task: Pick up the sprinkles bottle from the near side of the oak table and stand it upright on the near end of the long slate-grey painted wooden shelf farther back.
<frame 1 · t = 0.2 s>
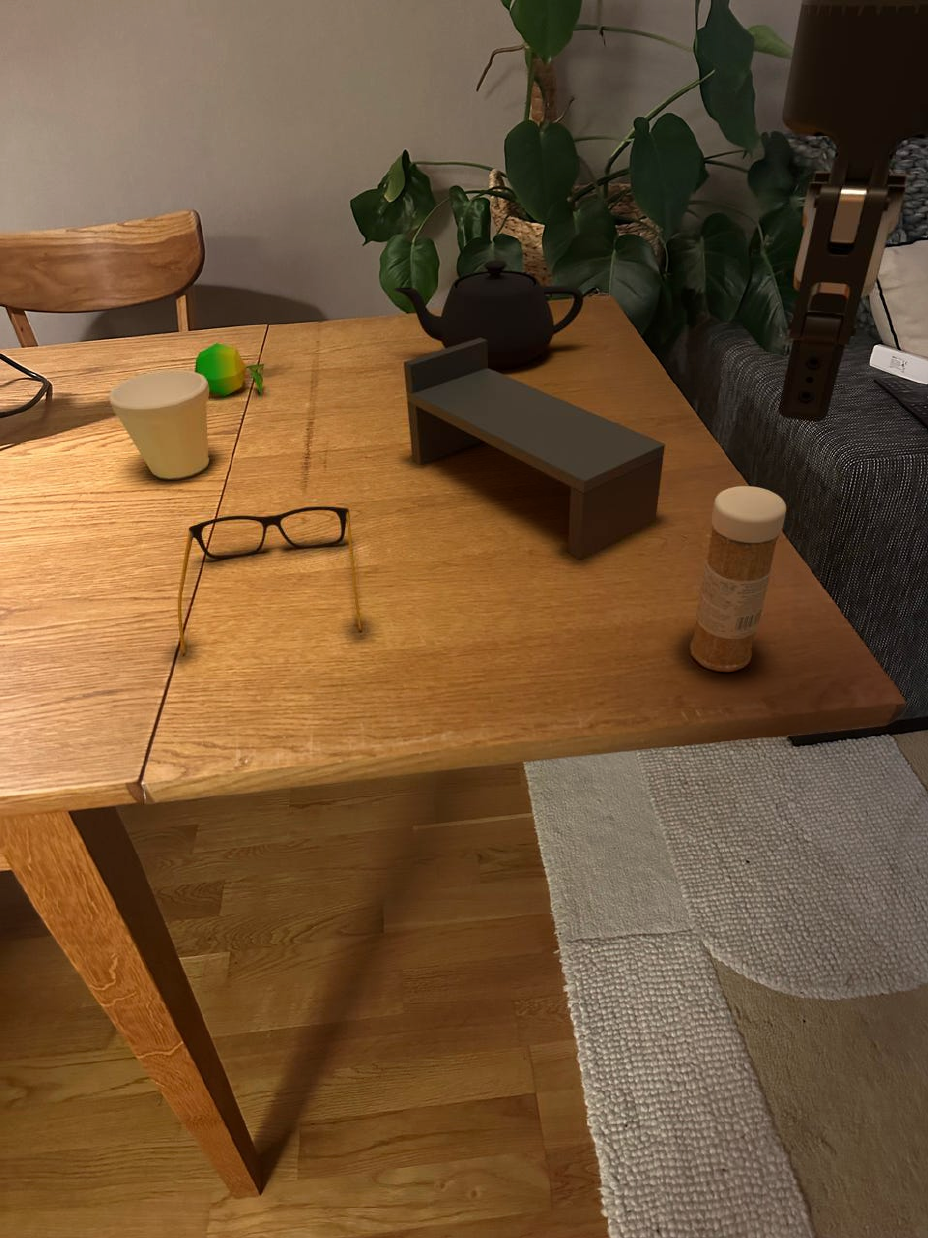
hand: (810, 383, 42), 24 cm above the table, tool pointing down, fingers open, 8 cm apart
eyeglasses: (275, 593, 70), on the table
sprinkles bottle: (718, 657, 61), on the table
shelf: (518, 485, 83), on the table
cup: (181, 469, 89), on the table
apple: (234, 392, 106), on the table
teapot: (490, 357, 112), on the table
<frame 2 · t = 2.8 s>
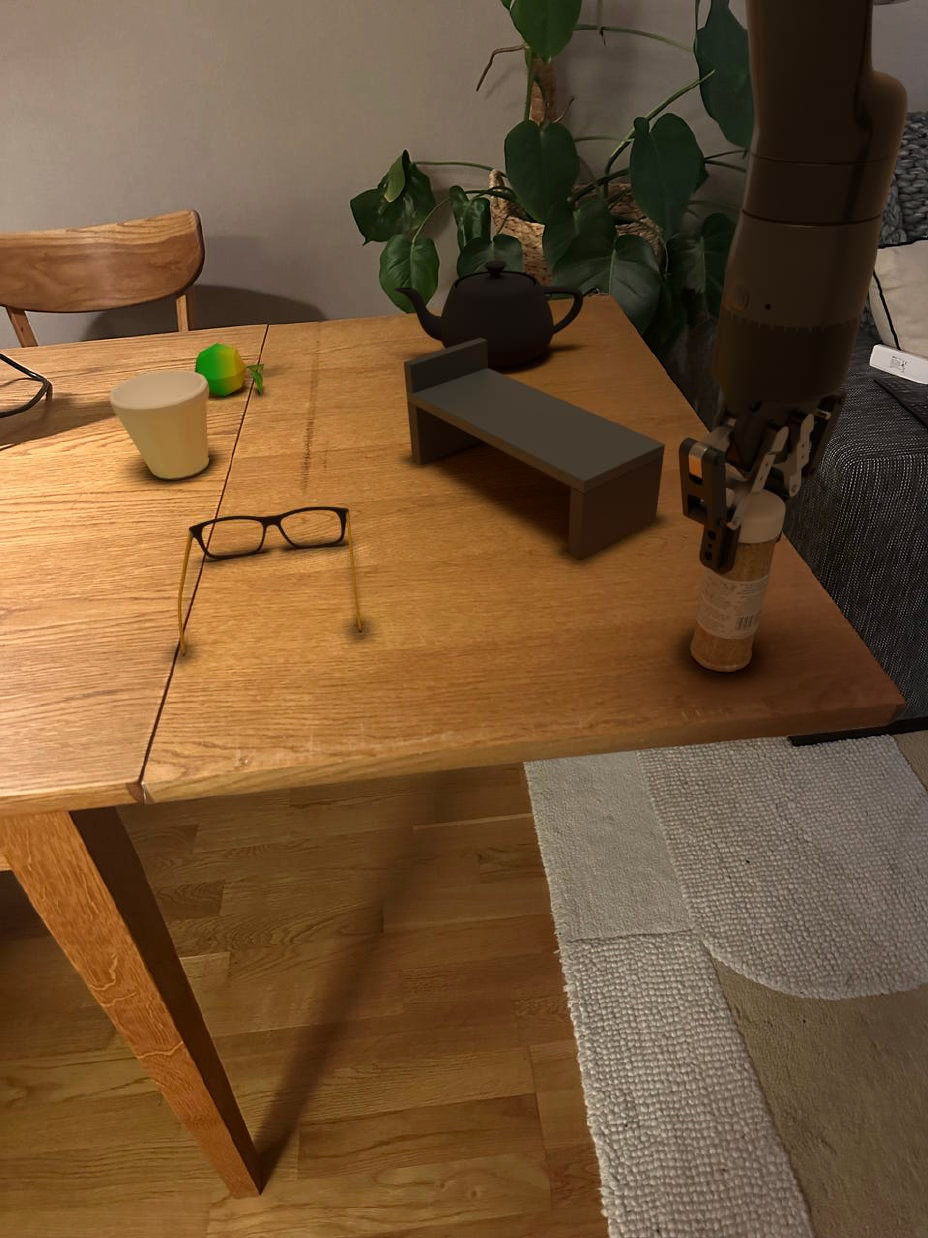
hand: (740, 552, 56), 9 cm above the table, tool pointing down, fingers closed on sprinkles bottle, 4 cm apart
sprinkles bottle: (719, 656, 61), on the table, touching gripper
everything else where it was.
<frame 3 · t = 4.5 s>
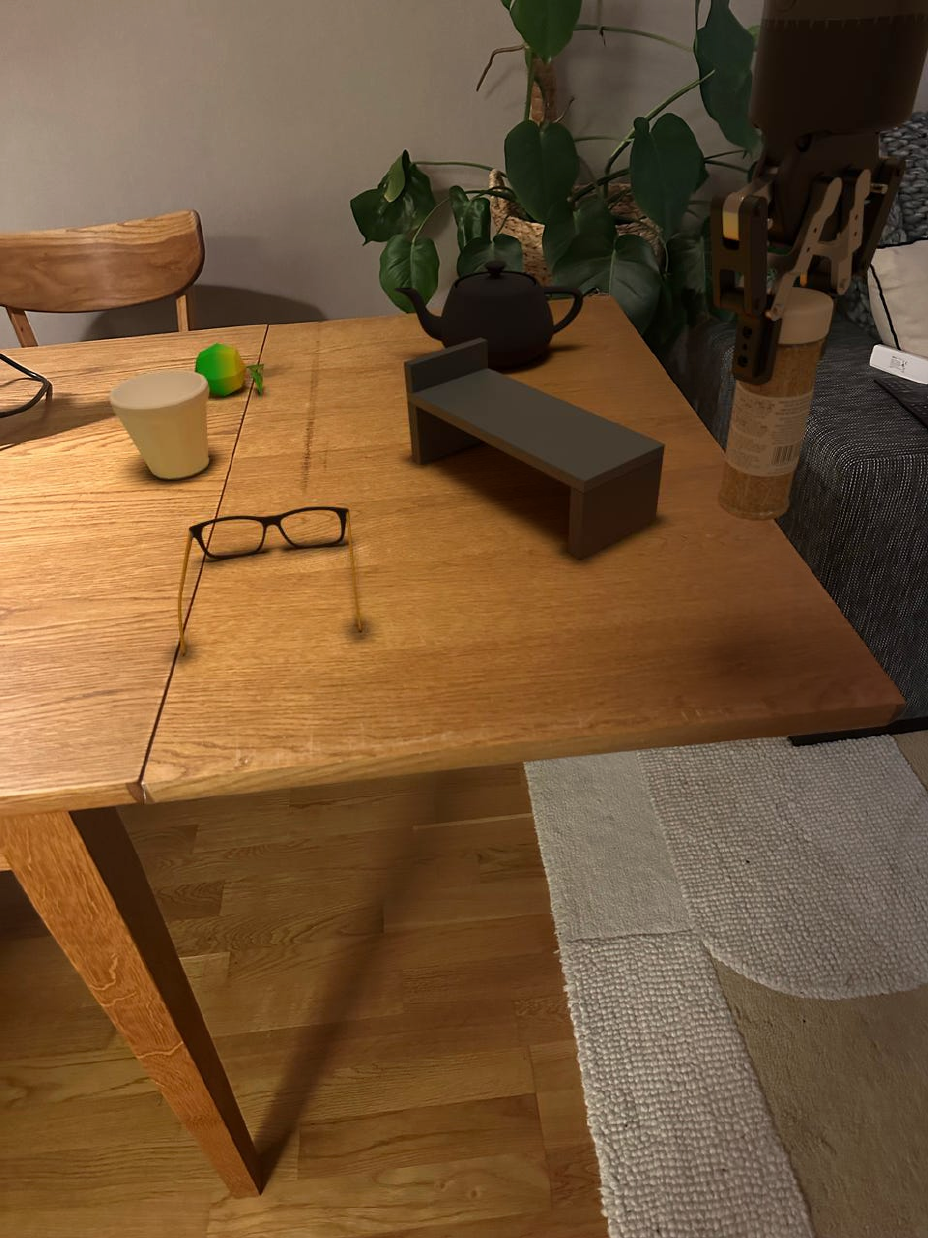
hand: (778, 367, 48), 22 cm above the table, tool pointing down, fingers closed on sprinkles bottle, 4 cm apart
sprinkles bottle: (750, 509, 53), point 13 cm above the table, touching gripper
everything else where it was.
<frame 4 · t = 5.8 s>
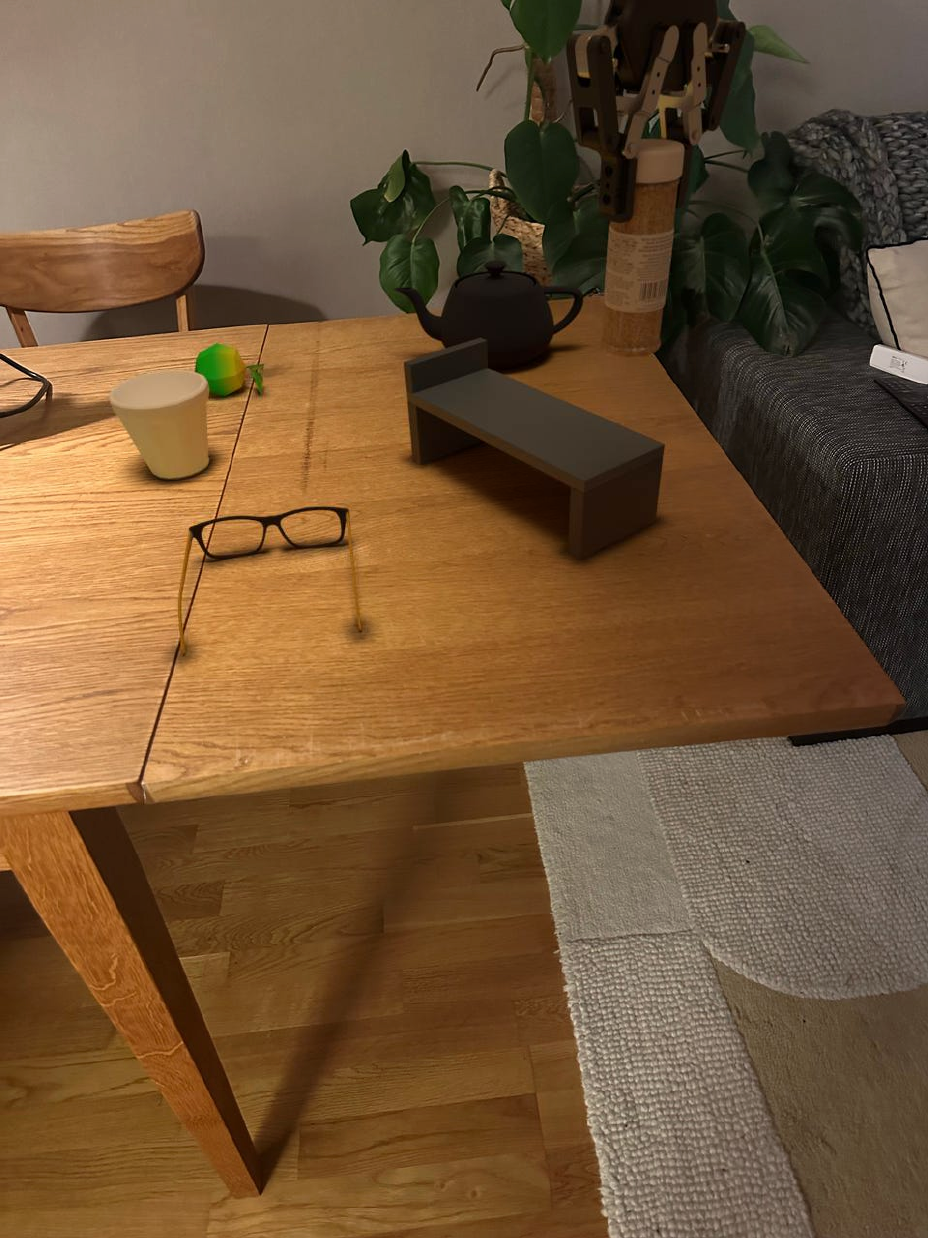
hand: (642, 212, 55), 28 cm above the table, tool pointing down, fingers closed on sprinkles bottle, 4 cm apart
sprinkles bottle: (629, 350, 61), point 19 cm above the table, touching gripper
everything else where it was.
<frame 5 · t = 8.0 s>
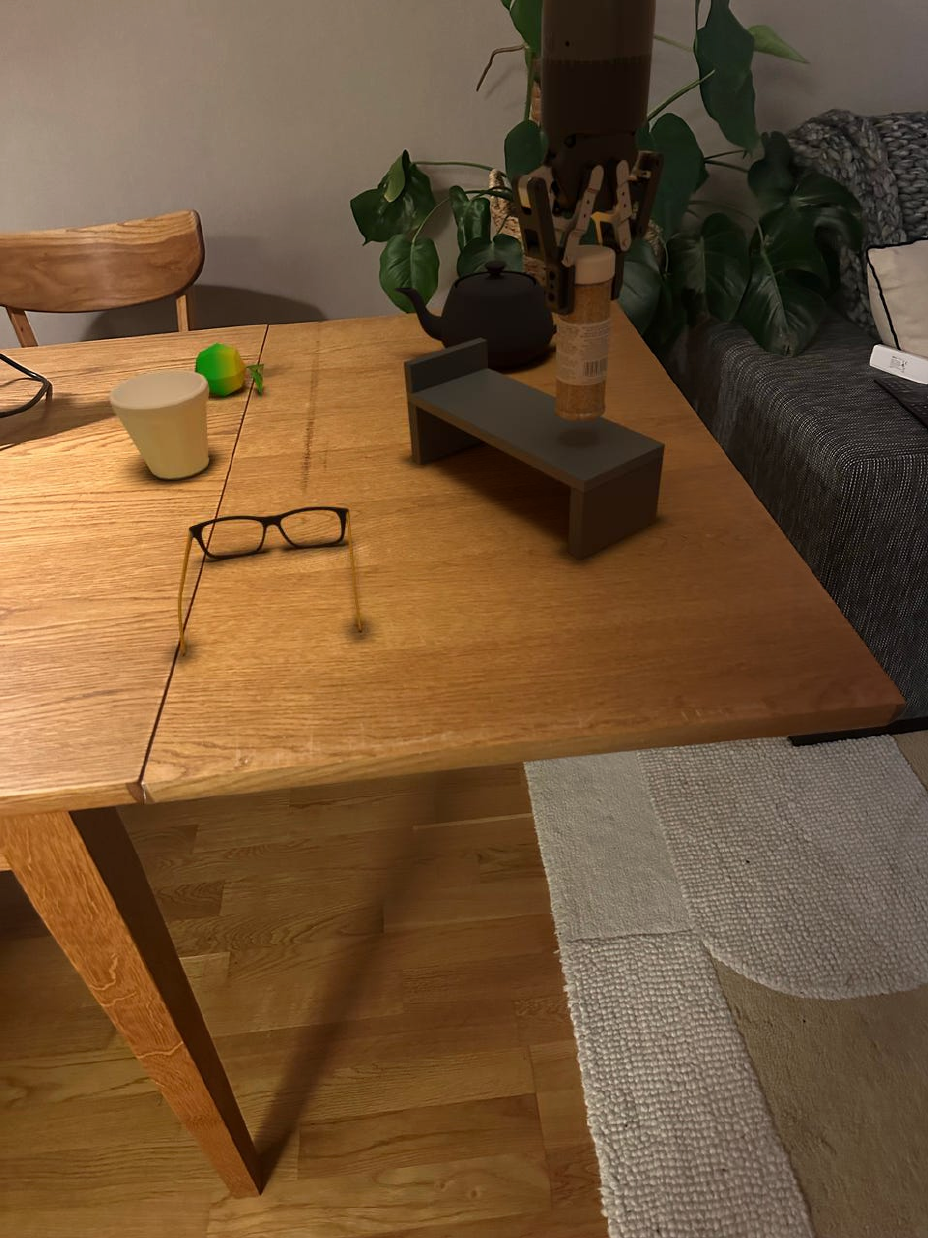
hand: (584, 304, 66), 20 cm above the table, tool pointing down, fingers closed on sprinkles bottle, 4 cm apart
sprinkles bottle: (579, 414, 72), point 10 cm above the table, touching gripper
everything else where it was.
when the fingers open (17 cm above the table, at t = 9.1 s): sprinkles bottle stays where it is, resting on shelf.
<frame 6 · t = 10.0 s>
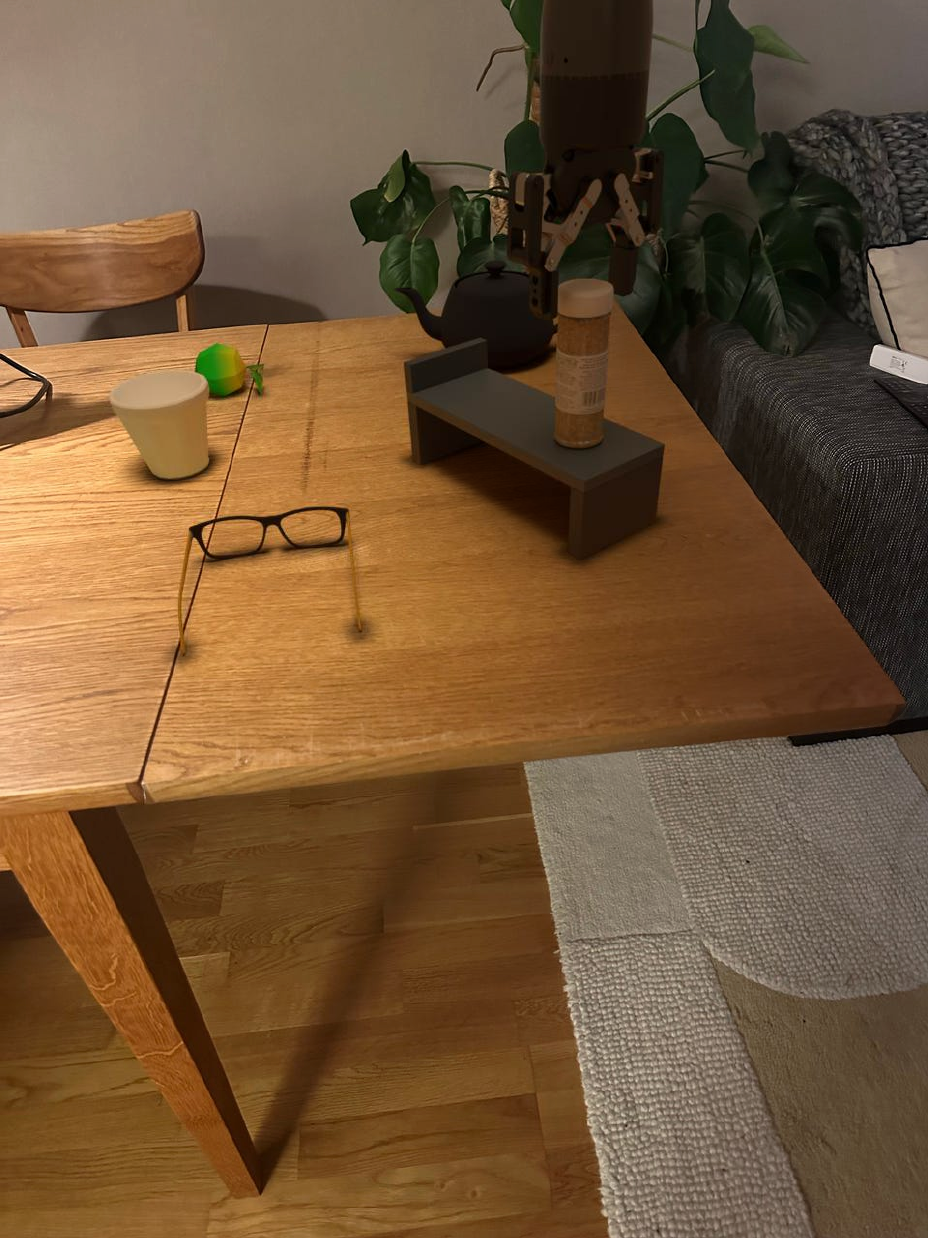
hand: (583, 305, 66), 20 cm above the table, tool pointing down, fingers open, 8 cm apart
sprinkles bottle: (577, 441, 73), point 8 cm above the table, touching shelf
everything else where it was.
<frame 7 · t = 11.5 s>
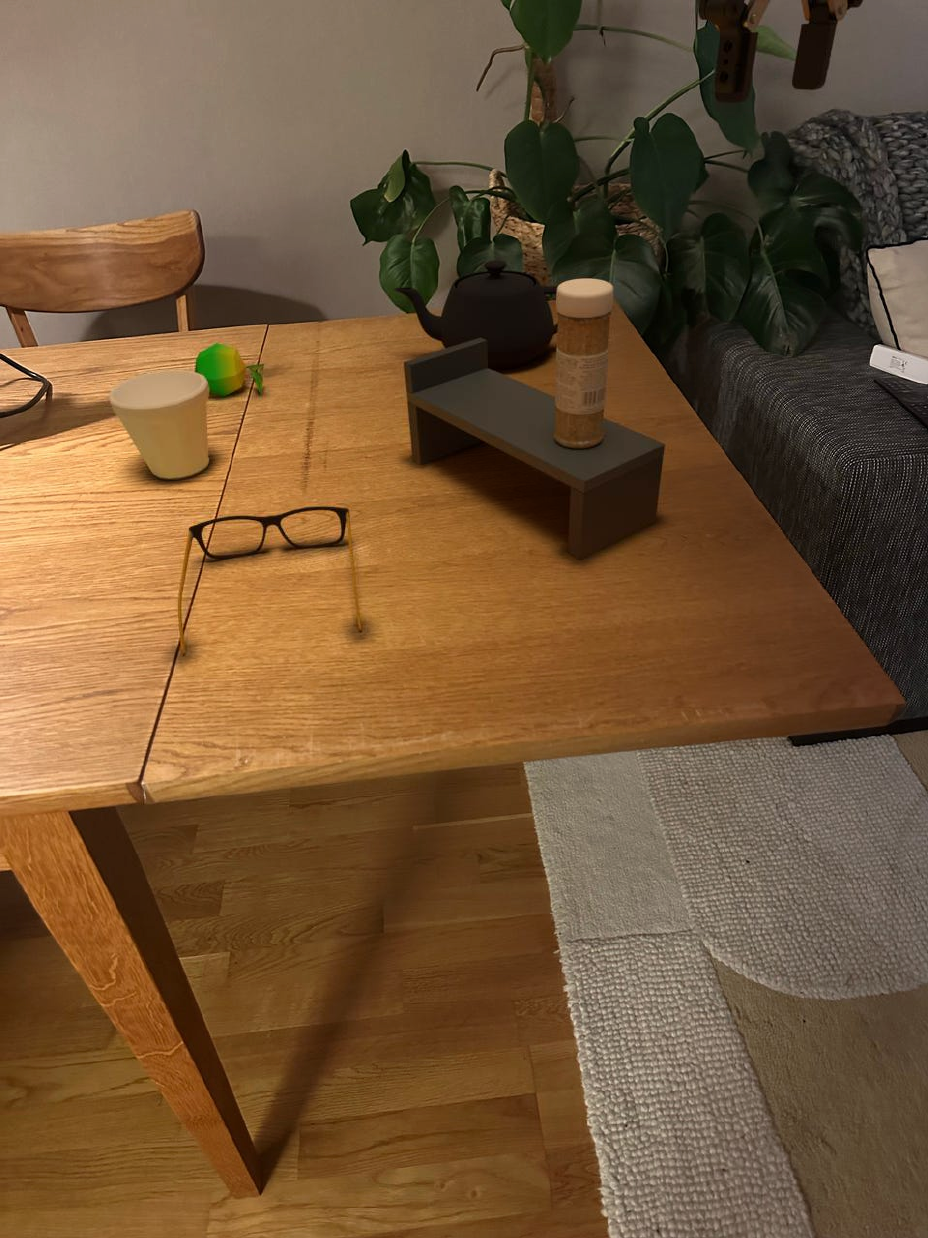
hand: (770, 94, 55), 34 cm above the table, tool pointing down, fingers open, 8 cm apart
nothing on the table moved.
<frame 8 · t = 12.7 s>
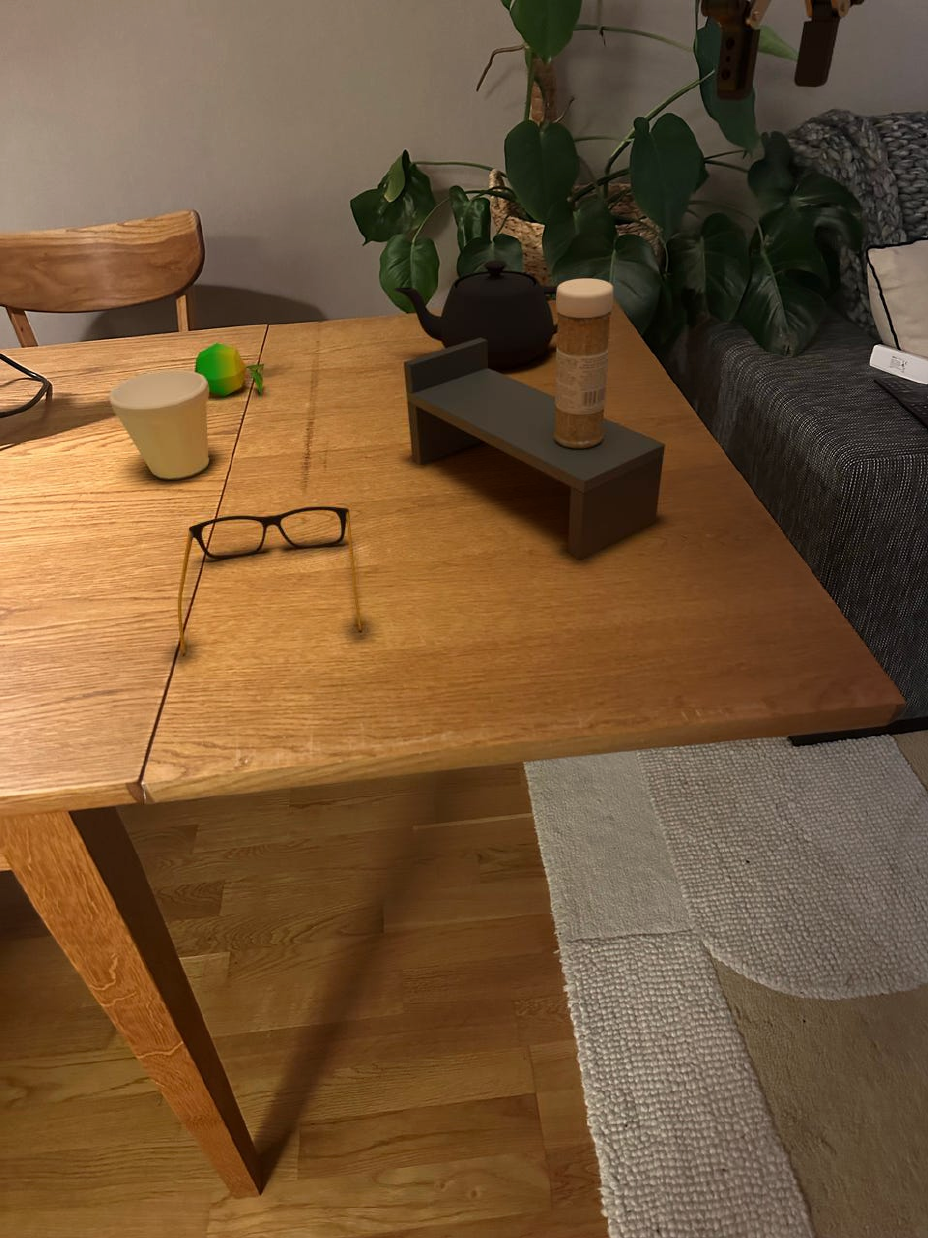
hand: (772, 92, 55), 34 cm above the table, tool pointing down, fingers open, 8 cm apart
nothing on the table moved.
at the end: sprinkles bottle inside the target area on the shelf (0.6 cm from its centre), point 7.8 cm above the shelf's base; sprinkles bottle tilted 0°; the gripper is holding nothing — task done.
